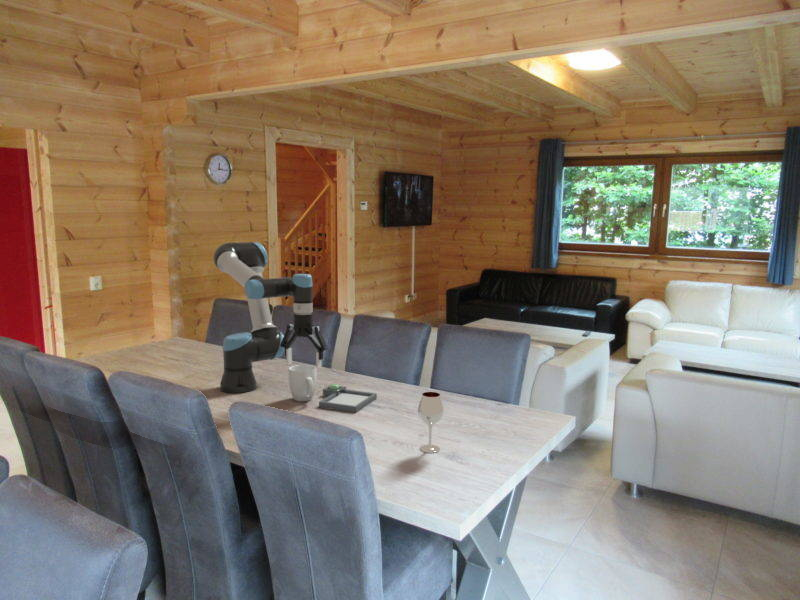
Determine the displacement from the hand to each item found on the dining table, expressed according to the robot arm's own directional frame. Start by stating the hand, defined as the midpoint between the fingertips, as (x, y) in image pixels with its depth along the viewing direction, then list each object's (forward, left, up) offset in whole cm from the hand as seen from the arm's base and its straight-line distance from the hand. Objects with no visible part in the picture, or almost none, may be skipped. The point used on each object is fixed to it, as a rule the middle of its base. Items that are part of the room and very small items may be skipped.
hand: (304, 366), depth 233 cm
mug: (0, 0, -14) cm, 14 cm away
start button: (+8, +11, -12) cm, 18 cm away
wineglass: (+63, -28, -14) cm, 70 cm away
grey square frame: (+8, +11, -14) cm, 20 cm away
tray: (+18, +4, -14) cm, 23 cm away
